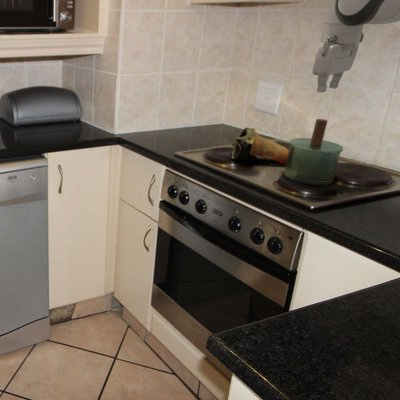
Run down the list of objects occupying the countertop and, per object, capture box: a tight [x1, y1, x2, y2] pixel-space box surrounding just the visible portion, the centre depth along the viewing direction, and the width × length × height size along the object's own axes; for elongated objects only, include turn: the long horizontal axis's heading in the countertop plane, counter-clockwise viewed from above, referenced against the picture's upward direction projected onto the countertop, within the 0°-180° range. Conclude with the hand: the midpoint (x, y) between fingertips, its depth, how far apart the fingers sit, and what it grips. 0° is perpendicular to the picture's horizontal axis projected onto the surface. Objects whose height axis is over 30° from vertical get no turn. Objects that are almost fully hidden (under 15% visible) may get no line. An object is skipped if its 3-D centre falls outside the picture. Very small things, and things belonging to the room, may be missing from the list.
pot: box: [230, 126, 289, 165], centre depth 151 cm, size 17×11×18 cm
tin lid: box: [288, 118, 344, 153], centre depth 135 cm, size 14×14×8 cm
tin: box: [283, 144, 342, 186], centre depth 138 cm, size 13×13×10 cm
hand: (327, 90), depth 128 cm, fingers open, 8 cm apart
